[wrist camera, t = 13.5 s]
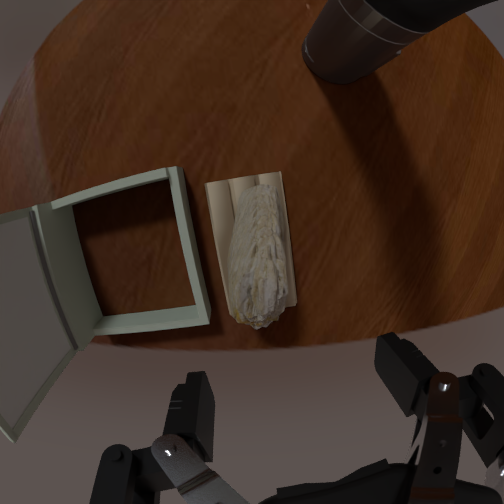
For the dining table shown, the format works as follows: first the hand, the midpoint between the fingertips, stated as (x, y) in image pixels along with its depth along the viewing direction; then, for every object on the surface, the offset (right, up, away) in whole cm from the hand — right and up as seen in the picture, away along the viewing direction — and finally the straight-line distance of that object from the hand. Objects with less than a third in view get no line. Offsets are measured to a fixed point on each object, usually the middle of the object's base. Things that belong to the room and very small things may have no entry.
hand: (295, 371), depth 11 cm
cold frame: (-18, +5, +22) cm, 29 cm away
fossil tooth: (-2, +6, +21) cm, 22 cm away
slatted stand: (-2, +6, +23) cm, 24 cm away
